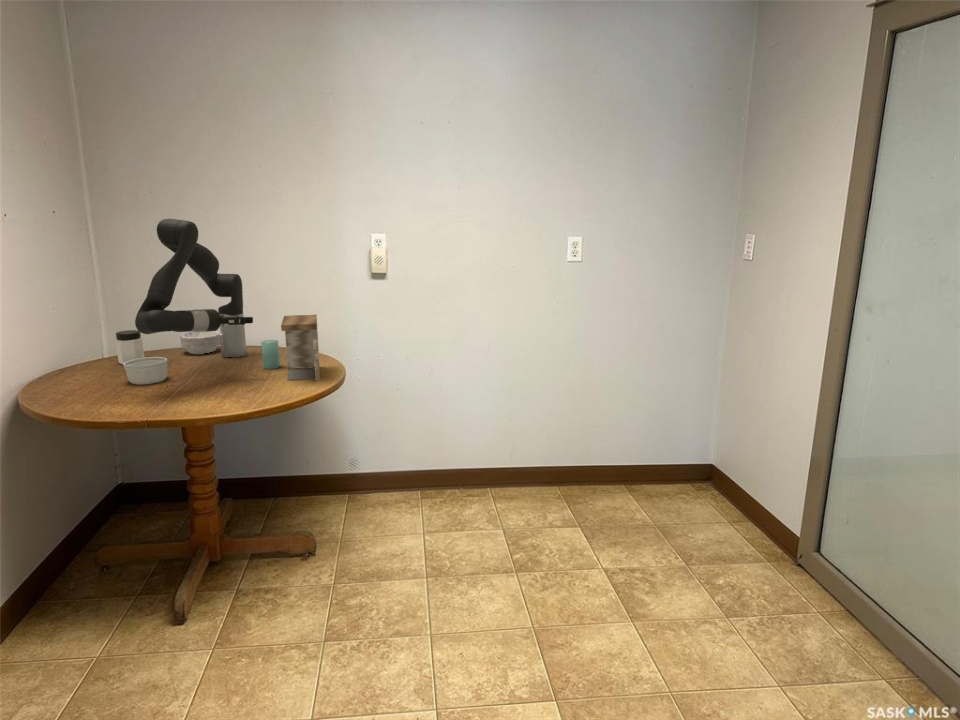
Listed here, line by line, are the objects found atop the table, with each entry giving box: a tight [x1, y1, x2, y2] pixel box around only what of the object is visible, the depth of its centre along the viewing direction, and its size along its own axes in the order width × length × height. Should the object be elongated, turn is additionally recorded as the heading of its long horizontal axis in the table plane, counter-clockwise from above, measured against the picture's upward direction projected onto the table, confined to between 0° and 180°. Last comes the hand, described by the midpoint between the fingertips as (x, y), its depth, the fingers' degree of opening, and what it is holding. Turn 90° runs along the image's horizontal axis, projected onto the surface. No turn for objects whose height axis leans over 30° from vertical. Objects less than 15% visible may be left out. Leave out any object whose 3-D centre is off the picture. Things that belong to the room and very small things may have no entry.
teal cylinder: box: [260, 339, 281, 370], centre depth 221 cm, size 6×6×10 cm
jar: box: [115, 329, 146, 366], centre depth 227 cm, size 9×8×12 cm
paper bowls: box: [179, 330, 221, 355], centre depth 245 cm, size 15×15×8 cm
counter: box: [280, 314, 321, 381], centre depth 211 cm, size 12×20×20 cm, turn 15°
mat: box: [286, 368, 315, 381], centre depth 212 cm, size 9×14×1 cm, turn 15°
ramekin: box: [123, 356, 169, 386], centre depth 203 cm, size 13×13×7 cm
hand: (245, 319), depth 210 cm, fingers open, 8 cm apart
